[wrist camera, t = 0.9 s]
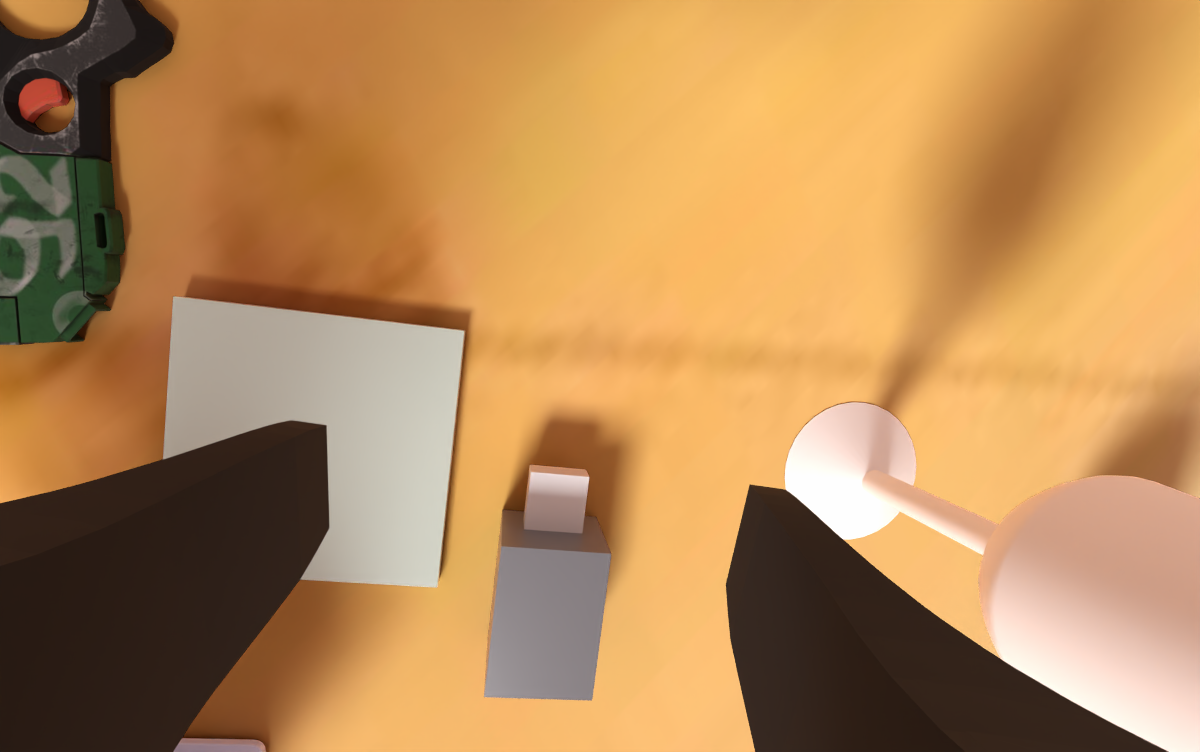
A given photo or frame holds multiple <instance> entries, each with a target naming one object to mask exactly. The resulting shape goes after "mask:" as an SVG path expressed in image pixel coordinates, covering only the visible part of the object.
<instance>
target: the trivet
mask: <svg viewBox="0 0 1200 752" xmlns="http://www.w3.org/2000/svg"><path fill="white" fill-rule="evenodd" d="M465 331H466V330H460V329H452V328H443V327H435V326H427V325H418V324H410V323H402V322H393V321H385V320H376V319H368V318H360V317H351V316H343V315H334V314H326V313H318V312H309V311H301V310H292V309H284V308H276V307H267V306H259V305H250V304H242V303H234V302H225V301H217V300H208V299H200V298H192V297H182V296H173V308H172V324H171V340H170V356H169V372H168V388H167V404H166V420H165V436H164V452H163V459H166V458H169V457H172V456H176V455H179V454H182V453H185V452H188V451H191V450H194V449H197V448H200V447H203V446H206V445H209V444H212V443H215V442H218V441H221V440H224V439H227V438H230V437H233V436H236V435H239V434H242V433H245V432H248V431H251V430H254V429H258V428H261V427H264V426H268V425H271V424H275V423H279V422H284V421H289V420H294V421H301V422H308V423H315V424H322V425H327V456H328V491H329V526H330V528H329V530H328V532H327V534H326V535H325V537H324V539H323V541H322V543H321V545H320V546H319V548H318V550H317V552H316V554H315V556H314V557H313V559H312V561H311V562H310V564H309V566H308V567H307V569H306V571H305V572H304V574H303V576H302V577H301V579H300V580H315V581H333V582H350V583H368V584H385V585H403V586H420V587H437V586H438V582H439V577H440V567H441V558H442V549H443V539H444V530H445V520H446V511H447V501H448V492H449V482H450V473H451V464H452V454H453V445H454V435H455V426H456V416H457V407H458V397H459V388H460V379H461V369H462V360H463V350H464V341H465Z"/></svg>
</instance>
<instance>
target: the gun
mask: <svg viewBox="0 0 1200 752" xmlns="http://www.w3.org/2000/svg"><path fill="white" fill-rule="evenodd" d="M173 44H174V41H173V35H172V33H171V32H170V31H169V30H168V28H167V27H166V26H165V25H163V24H162V23H161V22H160V21H158V20H157V19H156V18H155V17H153V16H152V15H151V14H149V13H148V12H147V11H146V9H145V8H144V7H143V5H142V4H141V3H140V1H139V0H89V4H88V8H87V11H86V13H85V15H84V17H83V19H82V20H81V21H80V22H79V24H78V25H77V26H76V27H75V28H73V29H71V30H70V31H68V32H67V33H65V34H64V35H62V36H60V37H56V38H50V39H43V40H40V39H28V38H24V37H21V36H18V35H15V34H14V33H12V32H11V31H10V30H8V29H7V28H6V27H5V26H4V25H3V24H2V22H1V21H0V345H21V344H34V343H45V342H61V341H66V342H79V341H84V339H83V338H81V337H80V336H79V335H77V334H76V333H77V332H78V331H79V330H80V329H81V328H82V327H83V325H84V324H85V323H86V322H87V321H88V320H89V319H90V318H91V316H92V315H93V314H94V313H95V312H96V311H110V310H111V309H110V308H109V307H108V306H106V305H105V304H104V303H105V302H106V300H107V299H106V298H105V297H104V296H103V295H109V294H110V293H111V292H112V291H113V290H114V288H115V287H116V286H117V285H118V284H119V283H120V256H119V255H123V253H124V250H125V241H124V231H123V221H122V214H121V213H120V211H118V210H115V200H114V186H113V171H112V164H111V163H108V162H109V161H111V135H110V87H111V85H112V84H113V83H115V82H117V81H119V80H121V79H123V78H135V77H137V76H138V75H139V74H141V73H142V72H143V71H145V70H146V69H148V68H149V67H151V66H152V65H154V64H155V63H157V62H158V61H160V60H161V59H163V58H164V57H165V56H167V55H168V54H169V53H171V50H172V47H173ZM66 87H67V88H68V90H69V91H70V92H71V94H72V95H73V97H74V100H75V111H74V117H73V119H72V120H71V122H70V123H69V125H68V126H67V127H66V128H65V129H63V130H61V131H59V132H52V133H47V132H44V131H42V130H41V129H39V128H38V127H37V125H36V124H35V123H34V121H35V120H36V119H37V118H38V117H39V115H41V114H42V113H44V112H46V111H47V110H49V109H51V108H52V107H56V106H63V105H66V104H67V103H68V101H69V98H68V93H67V88H66Z"/></svg>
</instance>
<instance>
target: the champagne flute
mask: <svg viewBox="0 0 1200 752" xmlns="http://www.w3.org/2000/svg"><path fill="white" fill-rule="evenodd" d="M915 473H916V456H915V450H914V447H913V443H912V440H911V438H910V436H909V434H908V432H907V430H906V429H905V427H904V426H903V425H902V424H901V422H900V421H899V420H898V419H897V418H896V417H895V416H893V415H892V414H891V413H890V412H888V411H886V410H884V409H882V408H880V407H878V406H876V405H872V404H868V403H858V402H850V403H845V404H839V405H836V406H834V407H831V408H829V409H826V410H824V411H823V412H821V413H820V414H818V415H817V416H815V417H814V418H813V419H812V420H810V421H809V422H808V423H807V424H806V425H805V426H804V427H803V429H802V430H801V431H800V433H799V434H798V435H797V437H796V438H795V440H794V442H793V444H792V447H791V449H790V451H789V454H788V458H787V462H786V469H785V485H786V490H787V491H788V492H790V493H791V494H792V495H794V496H795V497H796V498H797V499H799V500H800V501H801V502H802V503H803V504H804V505H805V506H807V507H808V508H809V509H810V510H811V511H812V512H813V513H814V514H816V515H817V516H818V517H819V518H820V519H821V520H822V521H823V522H824V523H825V524H826V525H828V526H829V527H830V528H831V529H832V530H833V531H834V532H835V533H836V534H838V535H839V536H840V537H841V538H842V539H855V538H860V537H864V536H867V535H869V534H872V533H874V532H876V531H878V530H879V529H881V528H882V527H884V526H886V525H887V524H888V523H889V522H890V521H891V520H892V519H893V518H895V517H896V516H897V514H898V513H899V512H902V513H904V514H906V515H908V516H910V517H912V518H914V519H916V520H917V521H919V522H921V523H923V524H925V525H927V526H929V527H931V528H933V529H934V530H936V531H938V532H940V533H942V534H944V535H946V536H948V537H950V538H951V539H953V540H955V541H957V542H959V543H961V544H963V545H965V546H967V547H969V548H970V549H972V550H974V551H976V552H978V553H980V554H982V555H983V556H982V560H981V563H980V570H979V578H978V584H979V597H980V603H981V609H982V613H983V617H984V621H985V624H986V628H987V631H988V633H989V635H990V638H991V640H992V642H993V645H994V647H995V649H996V651H997V653H998V654H999V656H1000V658H1001V659H1002V660H1003V661H1005V662H1006V663H1008V664H1009V665H1011V666H1013V667H1014V668H1016V669H1018V670H1019V671H1021V672H1023V673H1024V674H1026V675H1028V676H1030V677H1031V678H1033V679H1035V680H1036V681H1038V682H1040V683H1041V684H1043V685H1045V686H1047V687H1048V688H1050V689H1052V690H1053V691H1055V692H1057V693H1058V694H1060V695H1062V696H1064V697H1065V698H1067V699H1069V700H1071V701H1072V702H1074V703H1076V704H1078V705H1080V706H1082V707H1083V708H1085V709H1087V710H1089V711H1091V712H1093V713H1095V714H1096V715H1098V716H1100V717H1102V718H1104V719H1106V720H1107V721H1109V722H1111V723H1113V724H1115V725H1117V726H1119V727H1121V728H1123V729H1125V730H1127V731H1129V732H1131V733H1133V734H1135V735H1137V736H1139V737H1141V738H1143V739H1145V740H1147V741H1149V742H1151V743H1153V744H1155V745H1157V746H1159V747H1161V748H1162V749H1164V750H1166V751H1168V752H1200V498H1198V497H1195V496H1192V495H1190V494H1187V493H1184V492H1182V491H1179V490H1176V489H1174V488H1171V487H1168V486H1166V485H1163V484H1160V483H1158V482H1155V481H1151V480H1147V479H1143V478H1139V477H1135V476H1117V475H1098V476H1093V477H1088V478H1083V479H1078V480H1074V481H1070V482H1066V483H1062V484H1059V485H1056V486H1054V487H1052V488H1049V489H1047V490H1044V491H1042V492H1040V493H1038V494H1036V495H1034V496H1032V497H1030V498H1028V499H1027V500H1025V501H1024V502H1022V503H1021V504H1019V505H1018V506H1016V507H1015V508H1014V509H1013V510H1012V511H1011V512H1010V513H1009V514H1007V515H1006V516H1005V517H1004V518H1003V519H1002V521H1001V522H1000V524H997V523H995V522H992V521H990V520H988V519H986V518H983V517H981V516H979V515H977V514H975V513H972V512H970V511H968V510H966V509H963V508H961V507H959V506H957V505H955V504H952V503H950V502H948V501H946V500H943V499H941V498H939V497H937V496H934V495H932V494H930V493H928V492H926V491H923V490H921V489H919V488H917V487H914V486H913V484H914V481H915Z"/></svg>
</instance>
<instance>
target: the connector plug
mask: <svg viewBox="0 0 1200 752" xmlns="http://www.w3.org/2000/svg"><path fill="white" fill-rule="evenodd" d="M588 484H589V475H588V473H587V471H586V469H575V468H564V467H552V466H541V465H530V468H529V476H528V485H527V493H526V502H525V510H524V511H514V510H502V518H501V527H500V535H499V544H498V553H497V562H496V571H495V579H494V588H493V597H492V606H491V615H490V623H489V632H488V643H487V659H486V675H485V691H484V697H499V698H531V699H563V700H592V697H593V689H594V682H595V674H596V666H597V659H598V651H599V643H600V636H601V628H602V621H603V613H604V605H605V598H606V590H607V583H608V575H609V567H610V560H611V552H610V549H609V547H608V545H607V542H606V540H605V537H604V535H603V532H602V530H601V527H600V525H599V522H598V520H597V518H596V517H592V516H585V508H586V500H587V492H588Z"/></svg>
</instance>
